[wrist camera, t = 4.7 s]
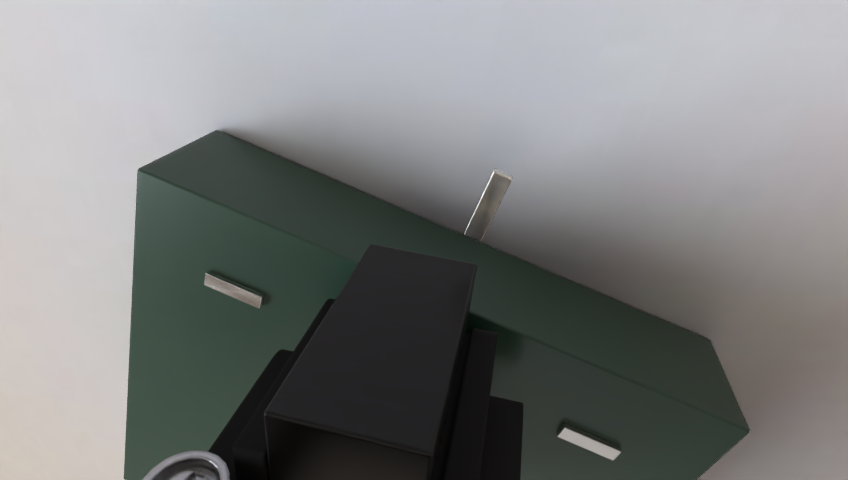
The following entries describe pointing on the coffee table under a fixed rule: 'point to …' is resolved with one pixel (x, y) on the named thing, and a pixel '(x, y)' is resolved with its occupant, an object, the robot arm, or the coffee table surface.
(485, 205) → the green block
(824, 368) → the coffee table surface
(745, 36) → the coffee table surface
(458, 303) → the black and red block
